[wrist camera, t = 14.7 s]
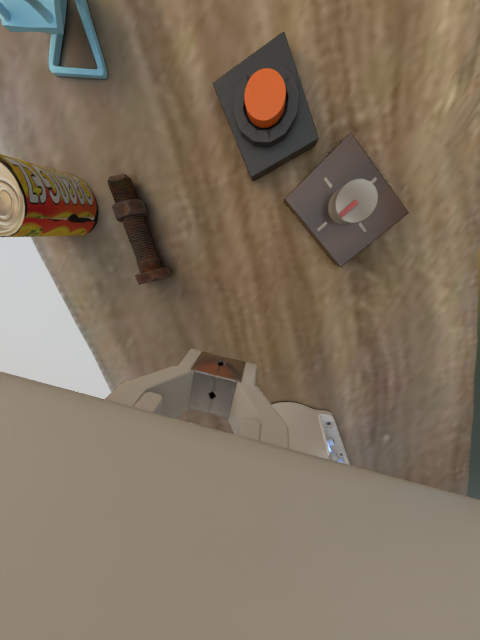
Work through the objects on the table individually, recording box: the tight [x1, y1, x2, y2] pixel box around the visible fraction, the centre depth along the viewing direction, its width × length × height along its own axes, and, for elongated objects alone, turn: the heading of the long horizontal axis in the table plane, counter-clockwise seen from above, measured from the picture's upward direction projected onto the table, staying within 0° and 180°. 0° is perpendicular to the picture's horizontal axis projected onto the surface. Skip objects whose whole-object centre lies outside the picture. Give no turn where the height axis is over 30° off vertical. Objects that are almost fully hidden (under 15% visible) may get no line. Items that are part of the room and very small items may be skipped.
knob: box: [328, 179, 378, 224], centre depth 28 cm, size 4×4×5 cm
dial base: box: [284, 133, 409, 267], centre depth 32 cm, size 12×10×3 cm
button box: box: [213, 32, 318, 181], centre depth 29 cm, size 11×9×4 cm
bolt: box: [107, 174, 171, 285], centre depth 36 cm, size 6×5×15 cm
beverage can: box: [0, 154, 98, 237], centre depth 32 cm, size 9×9×12 cm
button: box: [244, 68, 286, 128], centre depth 26 cm, size 4×4×2 cm
